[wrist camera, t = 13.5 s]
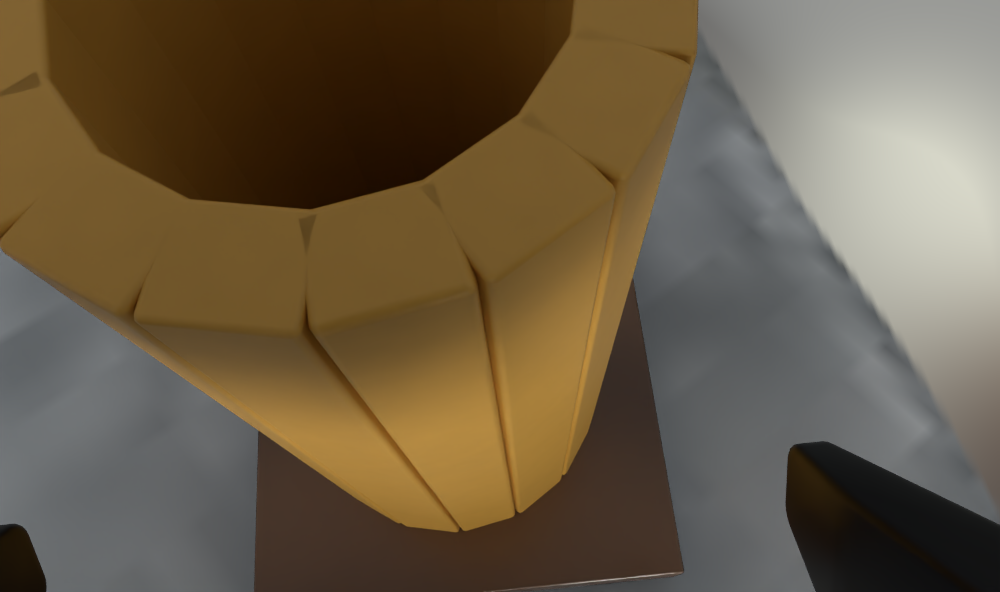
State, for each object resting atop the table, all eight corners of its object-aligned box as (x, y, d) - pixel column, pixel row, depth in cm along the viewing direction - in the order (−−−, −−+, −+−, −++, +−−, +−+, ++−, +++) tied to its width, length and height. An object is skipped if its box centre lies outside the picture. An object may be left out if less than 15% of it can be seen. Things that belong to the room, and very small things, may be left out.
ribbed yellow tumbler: (631, 482, 17) (836, 190, 6) (343, 567, 17) (-83, 444, 5) (545, 230, 19) (562, -334, 8) (292, 298, 19) (-77, -193, 8)
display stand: (675, 576, 17) (742, 554, 12) (270, 617, 17) (146, 614, 12) (614, 218, 21) (643, 72, 15) (277, 252, 21) (184, 118, 15)
